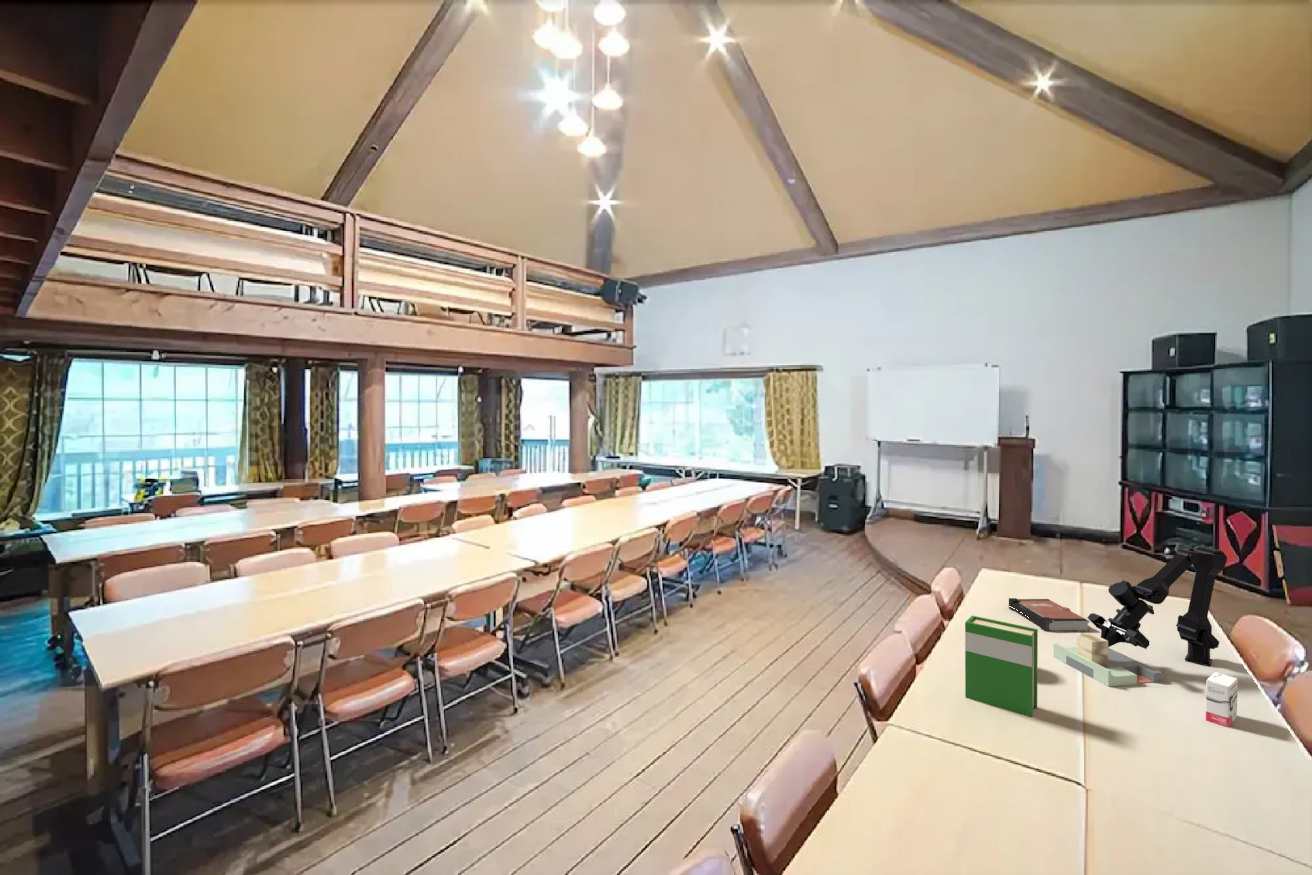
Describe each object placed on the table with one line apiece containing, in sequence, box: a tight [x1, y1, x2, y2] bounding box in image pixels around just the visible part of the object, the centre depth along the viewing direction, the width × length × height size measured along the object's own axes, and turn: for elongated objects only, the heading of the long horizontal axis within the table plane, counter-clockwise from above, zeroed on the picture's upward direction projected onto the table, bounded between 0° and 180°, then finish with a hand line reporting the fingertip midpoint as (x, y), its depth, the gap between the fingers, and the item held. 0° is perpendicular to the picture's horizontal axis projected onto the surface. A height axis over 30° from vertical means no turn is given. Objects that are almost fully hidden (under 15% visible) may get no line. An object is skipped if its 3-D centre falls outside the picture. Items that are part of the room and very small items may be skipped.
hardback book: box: [964, 615, 1039, 718], centre depth 175 cm, size 18×7×24 cm, turn 46°
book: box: [1008, 597, 1090, 633], centre depth 240 cm, size 26×18×5 cm
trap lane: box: [1053, 642, 1163, 687], centre depth 195 cm, size 19×22×5 cm
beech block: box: [1076, 633, 1109, 665], centre depth 194 cm, size 6×6×8 cm
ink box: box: [1205, 671, 1239, 728], centre depth 163 cm, size 8×5×12 cm, turn 123°
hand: (1101, 648), depth 194 cm, fingers closed, pressing on beech block
